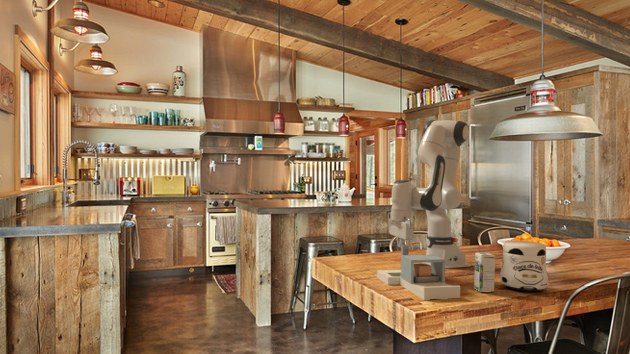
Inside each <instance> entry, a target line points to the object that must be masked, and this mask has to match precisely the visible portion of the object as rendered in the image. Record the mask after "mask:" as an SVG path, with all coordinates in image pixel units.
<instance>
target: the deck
mask: <svg viewBox="0 0 630 354" xmlns="http://www.w3.org/2000/svg"><path fill="white" fill-rule="evenodd" d="M376 278H377V279H378V280H380V281H382V282H383V283H384V284H386V285H387V286H389V285H390V286H391V285H392V286H395V285H397V286H398V285H400V286H401V287H403V288H405V290H407V291H409V292H410V293H412V294H413V295H415V296H417V297H418V298H419V299H421V300H423V301H431V300H430V299H441V300H449V299H448V298H460V299H461V286H460V285H450V284H449V283H446V282H445V283H442V282H440V281H439V282H414V281H413V284H410V283H409V282H407V281H405V280H404V279H402V278H401V269H385V270H384V269H383V270H382V269H381V270H380V269H379V270H376Z"/></svg>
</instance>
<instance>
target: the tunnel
mask: <svg viewBox="0 0 630 354" xmlns="http://www.w3.org/2000/svg"><path fill="white" fill-rule="evenodd" d="M425 262H431V273H433V274H435V275H437V276H439V281H440V282H442V283H446V268H445V259H443V258H440V257H438V256H435V255H426V254H409V255H401V254H400V270H401V278H402V279H404V280H405V281H407V282H409V283H410V284H413V278H414V264H424V263H425Z"/></svg>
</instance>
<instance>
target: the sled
mask: <svg viewBox="0 0 630 354" xmlns="http://www.w3.org/2000/svg"><path fill="white" fill-rule="evenodd" d="M409 251H410V245H408V244H404V245H401V248H400V256H401V255H410V254H409ZM413 281H414V282H439V276H437V275H435V274H433V273H431V276H415V275H414V278H413Z"/></svg>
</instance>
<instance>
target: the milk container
mask: <svg viewBox="0 0 630 354" xmlns="http://www.w3.org/2000/svg"><path fill="white" fill-rule="evenodd" d="M499 276H500V282H501V284H502V285H503V286H505V287H506V288H509V289H512V290H516V291H521V292H540V291H544V290H546V289H547V288H548V285H549V274H548V271H547V246H546V244H544V243H540V242H536V241H534V242H533V241H526V240H506V241H503V245H502V265H501V269H500V273H499Z"/></svg>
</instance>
